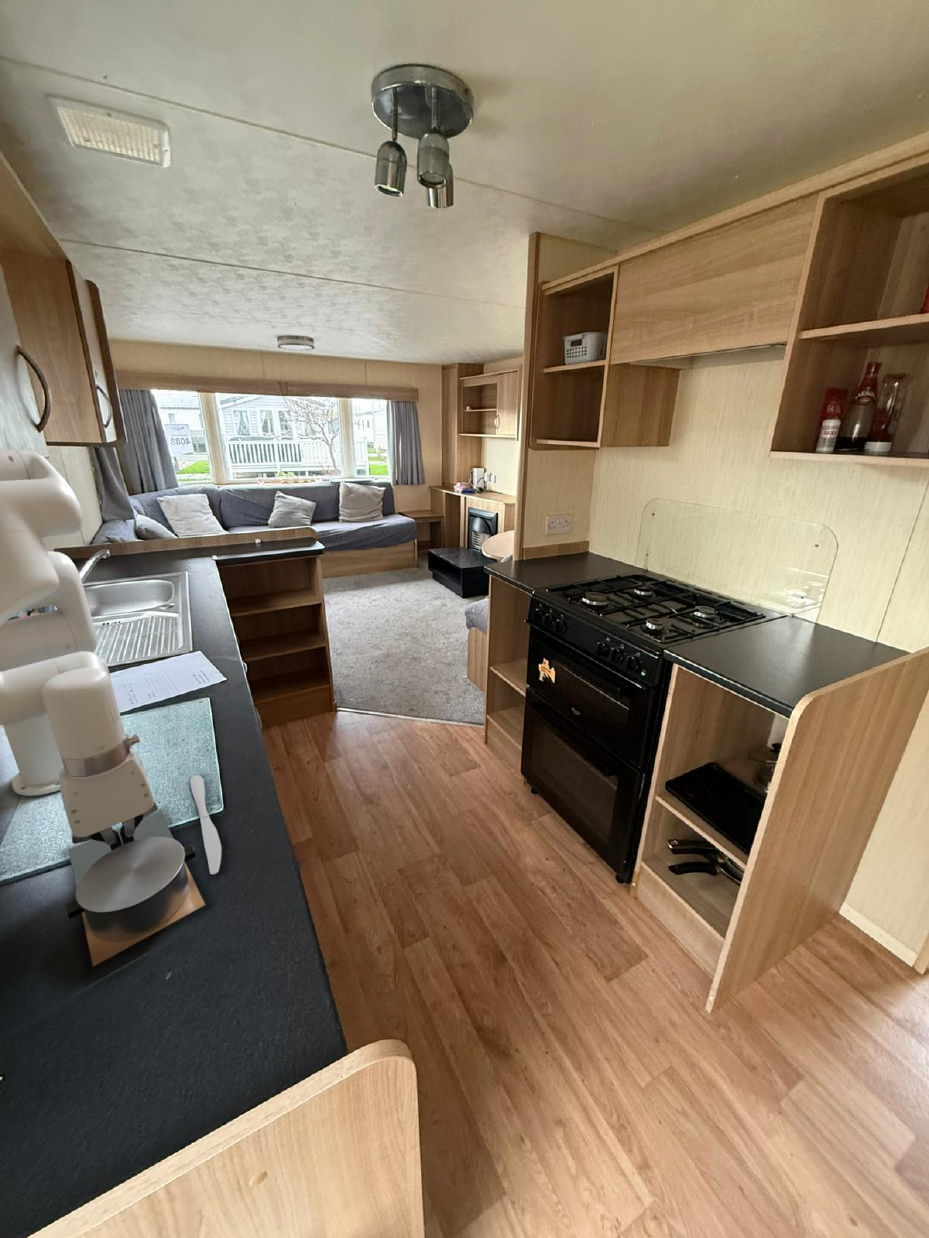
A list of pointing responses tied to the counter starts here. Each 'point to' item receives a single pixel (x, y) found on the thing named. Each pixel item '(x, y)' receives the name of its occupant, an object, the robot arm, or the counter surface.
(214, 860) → the butter knife
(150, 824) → the gray square tile
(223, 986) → the counter surface
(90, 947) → the trivet
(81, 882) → the pot
